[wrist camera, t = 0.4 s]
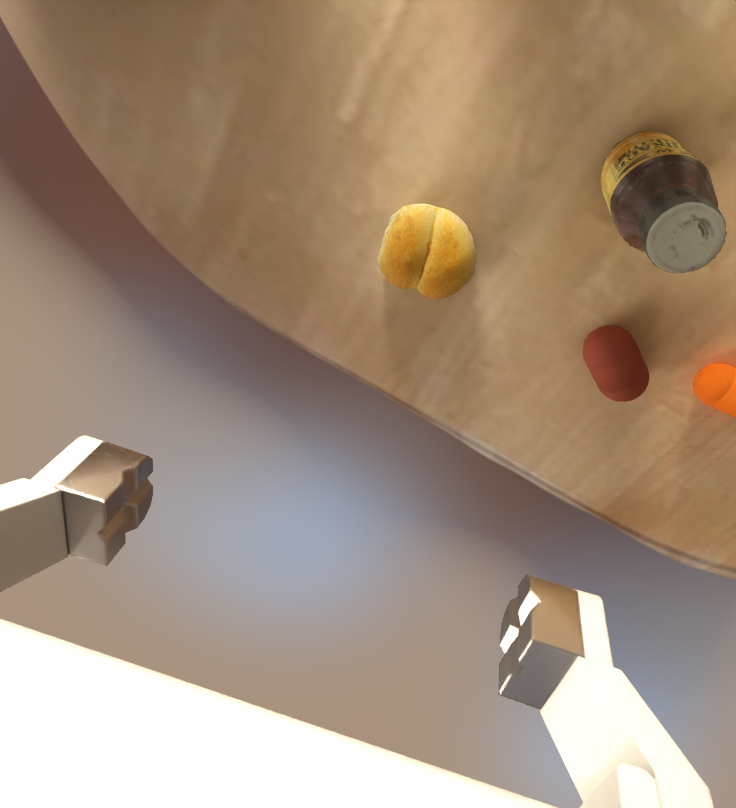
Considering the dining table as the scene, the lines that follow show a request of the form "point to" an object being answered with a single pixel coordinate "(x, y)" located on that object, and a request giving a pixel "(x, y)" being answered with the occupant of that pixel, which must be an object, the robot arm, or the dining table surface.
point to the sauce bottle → (663, 202)
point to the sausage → (615, 363)
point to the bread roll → (427, 251)
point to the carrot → (717, 387)
